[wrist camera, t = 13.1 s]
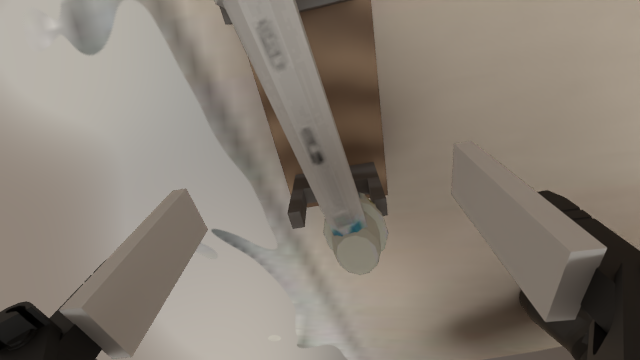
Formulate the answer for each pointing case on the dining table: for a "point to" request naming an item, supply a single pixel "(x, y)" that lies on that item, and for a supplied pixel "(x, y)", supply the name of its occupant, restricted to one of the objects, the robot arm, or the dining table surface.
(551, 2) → the dining table surface
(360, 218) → the grey handled tool
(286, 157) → the hook board
